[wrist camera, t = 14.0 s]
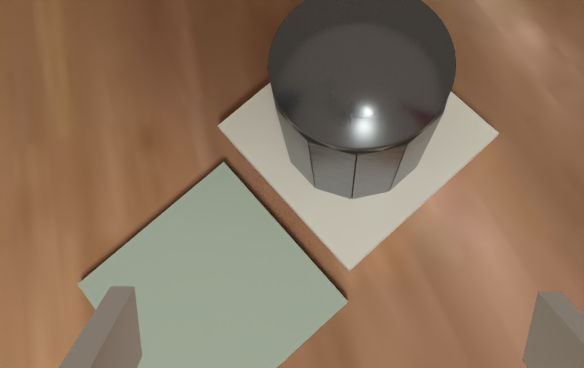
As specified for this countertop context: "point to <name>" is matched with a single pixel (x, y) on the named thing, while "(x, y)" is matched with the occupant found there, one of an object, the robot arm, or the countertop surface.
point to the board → (366, 210)
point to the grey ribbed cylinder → (360, 90)
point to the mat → (218, 282)
